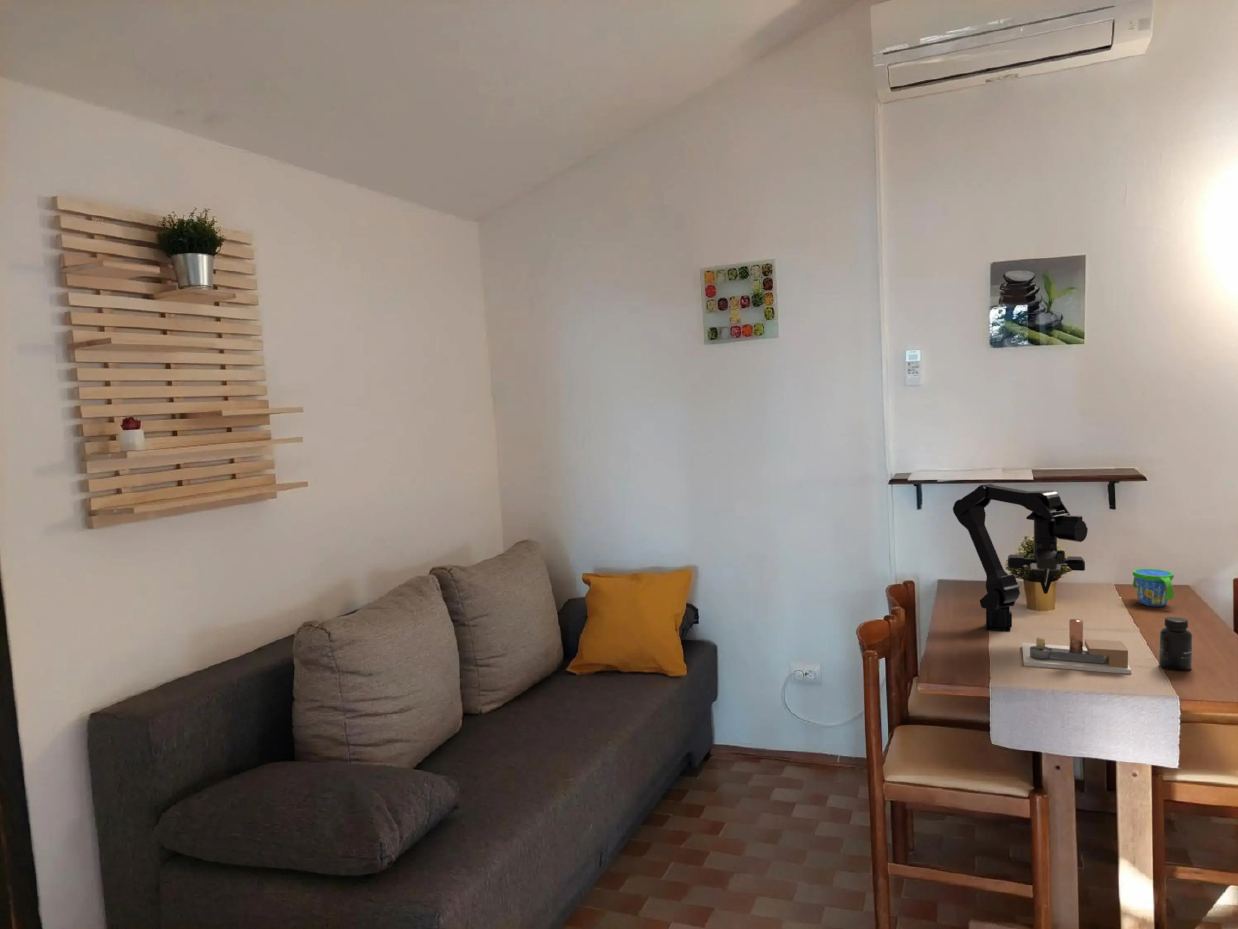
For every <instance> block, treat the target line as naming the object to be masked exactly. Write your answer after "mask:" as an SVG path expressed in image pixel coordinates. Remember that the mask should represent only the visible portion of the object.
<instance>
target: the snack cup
mask: <svg viewBox="0 0 1238 929" xmlns="http://www.w3.org/2000/svg"><path fill="white" fill-rule="evenodd" d="M1132 576H1133V581H1132V586H1133V588H1134V589H1136V594H1137V600H1138V603H1139V604H1141V605H1144V606H1147V607H1153V608H1155V607H1156V608H1157V607H1159V608H1160V607H1164V606H1167V603H1168V600H1172V599H1173V598H1174V597H1175V592H1174V589H1173V588H1174V587H1173V582H1172V580H1173V579H1174V577H1175V574H1174V573H1173V572H1172V571H1169V570H1165V569H1160V568H1159V569H1158V568H1138V569H1134V570H1133V571H1132Z"/></svg>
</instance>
